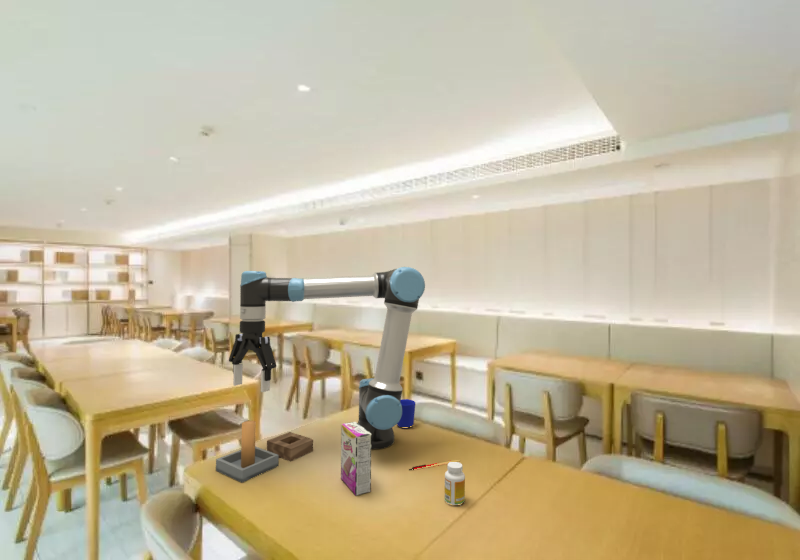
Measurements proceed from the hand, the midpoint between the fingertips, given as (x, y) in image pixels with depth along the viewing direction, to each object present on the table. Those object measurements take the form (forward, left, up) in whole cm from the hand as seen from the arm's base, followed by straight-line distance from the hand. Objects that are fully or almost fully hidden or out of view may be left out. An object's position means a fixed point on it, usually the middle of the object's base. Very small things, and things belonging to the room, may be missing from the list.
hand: (251, 388), depth 121 cm
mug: (-19, -61, -25) cm, 69 cm away
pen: (-47, -35, -25) cm, 64 cm away
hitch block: (-1, -15, -25) cm, 29 cm away
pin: (0, +1, -24) cm, 24 cm away
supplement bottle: (-61, -19, -25) cm, 69 cm away
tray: (0, +1, -25) cm, 25 cm away
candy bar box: (-34, -10, -25) cm, 43 cm away
